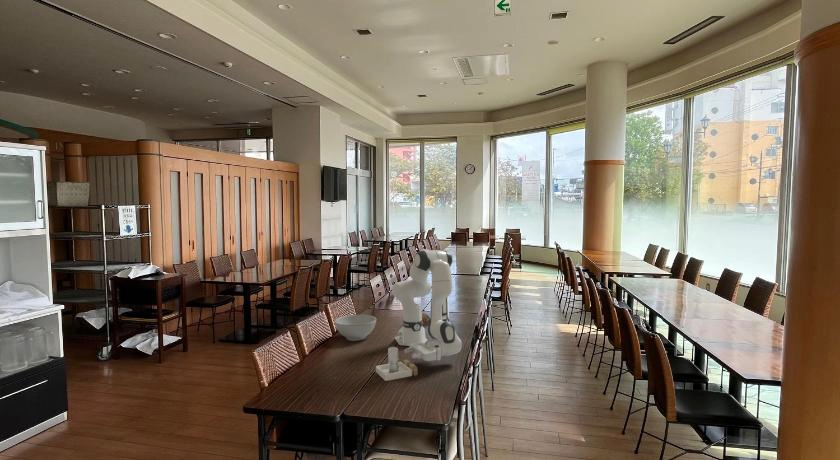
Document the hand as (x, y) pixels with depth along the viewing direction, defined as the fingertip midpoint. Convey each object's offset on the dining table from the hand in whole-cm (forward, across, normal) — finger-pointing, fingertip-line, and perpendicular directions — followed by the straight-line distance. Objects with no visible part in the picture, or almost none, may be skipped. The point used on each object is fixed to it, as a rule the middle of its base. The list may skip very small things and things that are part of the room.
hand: (408, 353), depth 236 cm
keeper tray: (+8, 0, +9) cm, 12 cm away
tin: (-41, -78, +9) cm, 89 cm away
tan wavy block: (-1, 0, +9) cm, 9 cm away
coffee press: (-61, -83, +9) cm, 104 cm away
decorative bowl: (+7, -71, +9) cm, 72 cm away
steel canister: (+8, 0, +8) cm, 12 cm away
